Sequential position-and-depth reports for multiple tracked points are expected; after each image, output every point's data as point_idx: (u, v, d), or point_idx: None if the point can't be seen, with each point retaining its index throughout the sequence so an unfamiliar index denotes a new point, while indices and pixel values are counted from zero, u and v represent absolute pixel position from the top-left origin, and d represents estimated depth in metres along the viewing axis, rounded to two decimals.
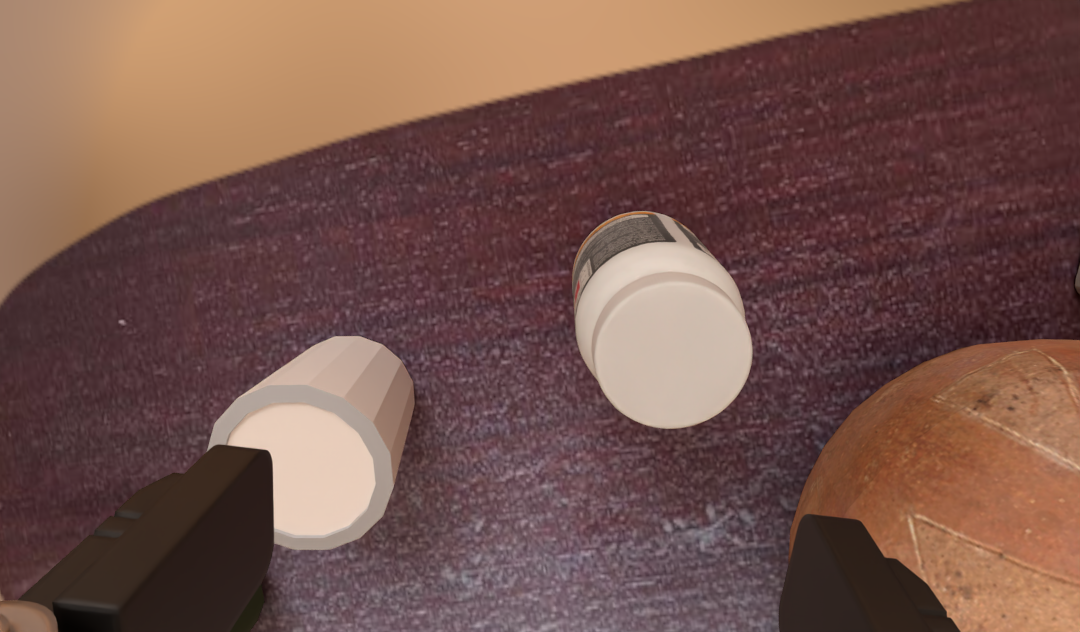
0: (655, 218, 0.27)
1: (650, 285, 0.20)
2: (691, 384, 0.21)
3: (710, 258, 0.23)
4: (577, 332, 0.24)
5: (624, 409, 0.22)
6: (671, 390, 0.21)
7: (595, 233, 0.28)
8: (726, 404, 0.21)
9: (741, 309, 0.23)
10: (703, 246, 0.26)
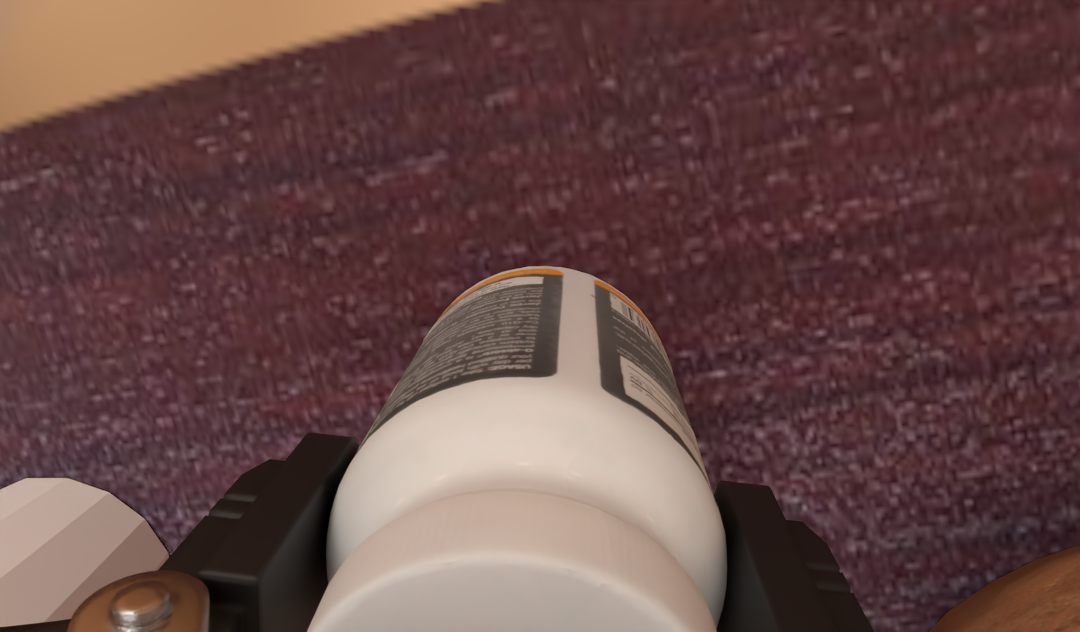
0: (553, 288, 0.14)
1: (421, 561, 0.07)
2: None
3: (636, 418, 0.09)
4: (329, 581, 0.10)
5: None
6: None
7: (447, 312, 0.15)
8: None
9: (715, 543, 0.09)
10: (640, 359, 0.12)
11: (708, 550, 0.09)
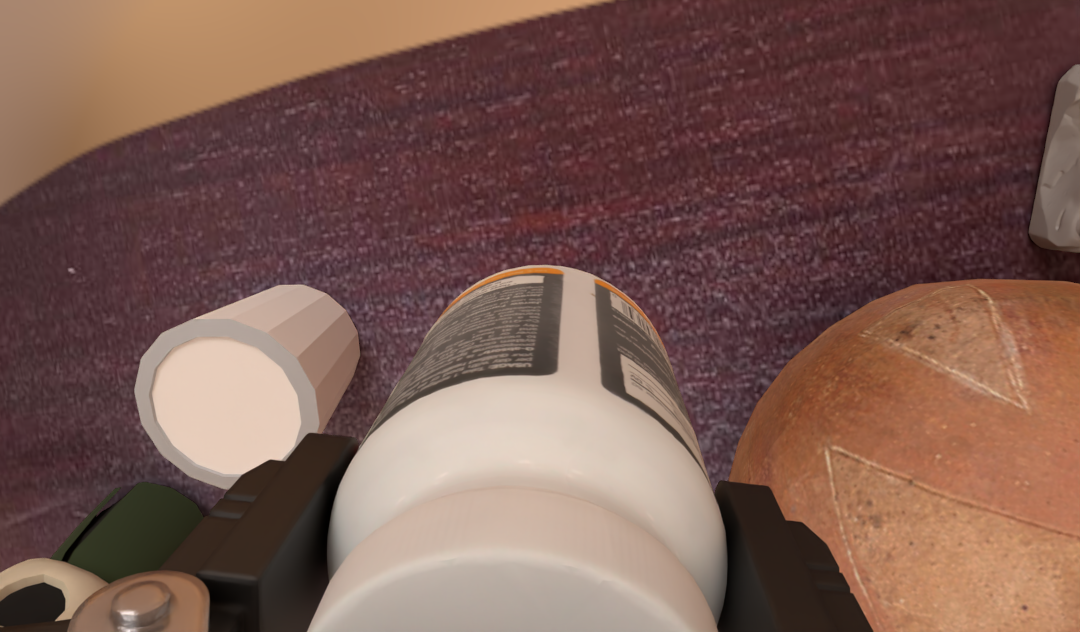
0: (553, 287, 0.14)
1: (421, 558, 0.07)
2: None
3: (637, 417, 0.09)
4: (330, 579, 0.10)
5: None
6: None
7: (447, 310, 0.15)
8: None
9: (716, 541, 0.09)
10: (640, 358, 0.12)
11: (708, 548, 0.09)
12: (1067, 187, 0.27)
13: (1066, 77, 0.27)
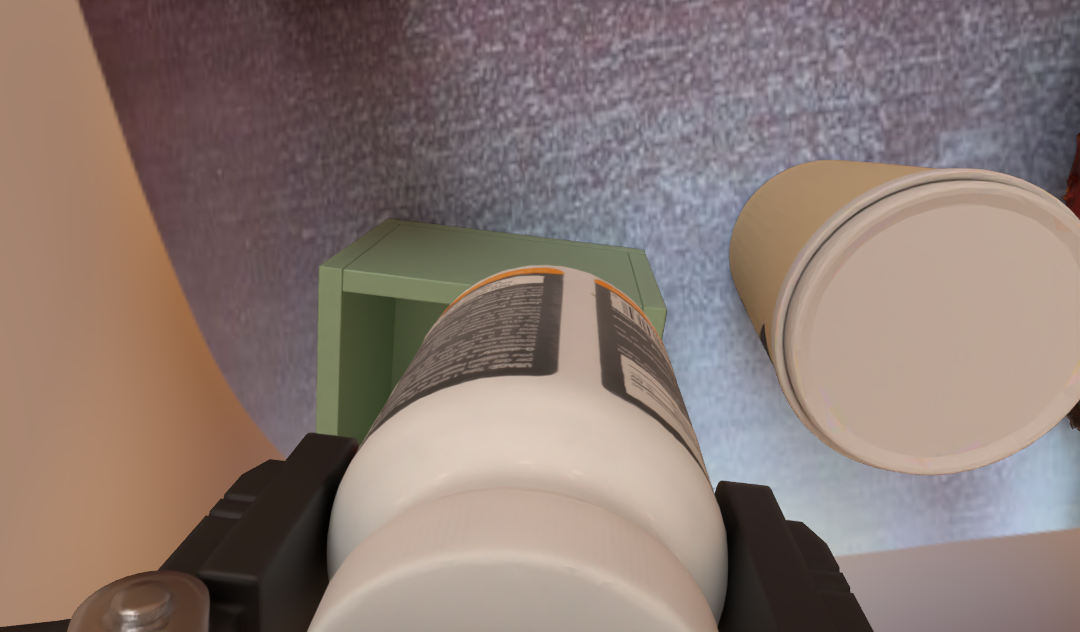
0: (554, 287, 0.14)
1: (421, 559, 0.07)
2: None
3: (637, 417, 0.09)
4: None
5: None
6: None
7: (447, 311, 0.15)
8: None
9: (716, 541, 0.09)
10: (641, 358, 0.12)
11: (709, 549, 0.09)
12: None
13: None
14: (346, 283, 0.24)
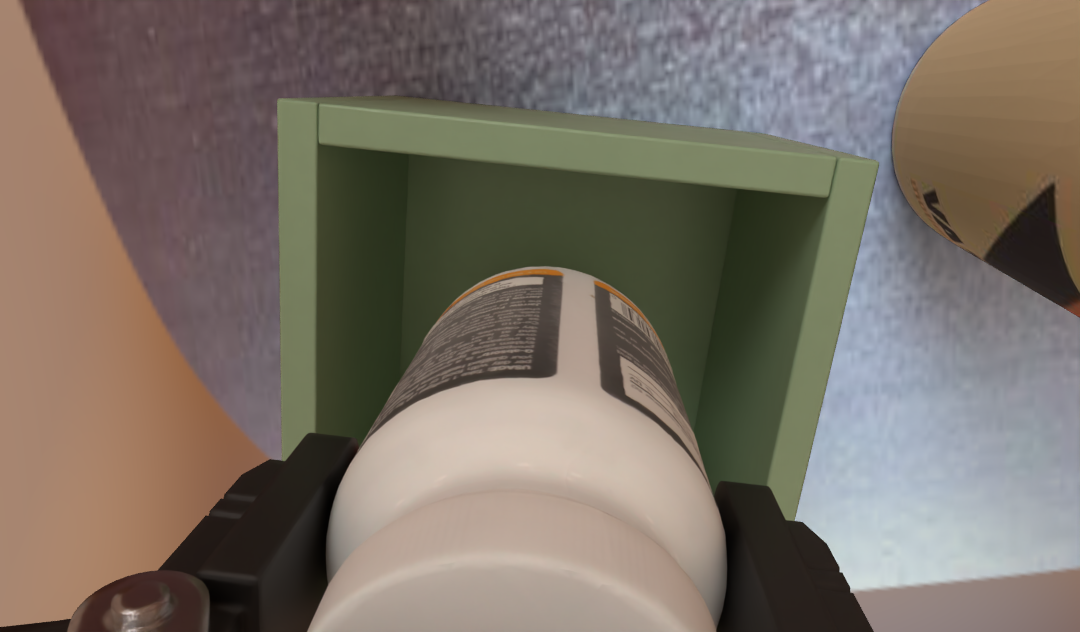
0: (553, 288, 0.14)
1: (420, 562, 0.07)
2: None
3: (636, 419, 0.09)
4: None
5: None
6: None
7: (447, 312, 0.15)
8: None
9: (715, 543, 0.09)
10: (640, 359, 0.12)
11: (708, 551, 0.09)
12: None
13: None
14: (324, 129, 0.14)
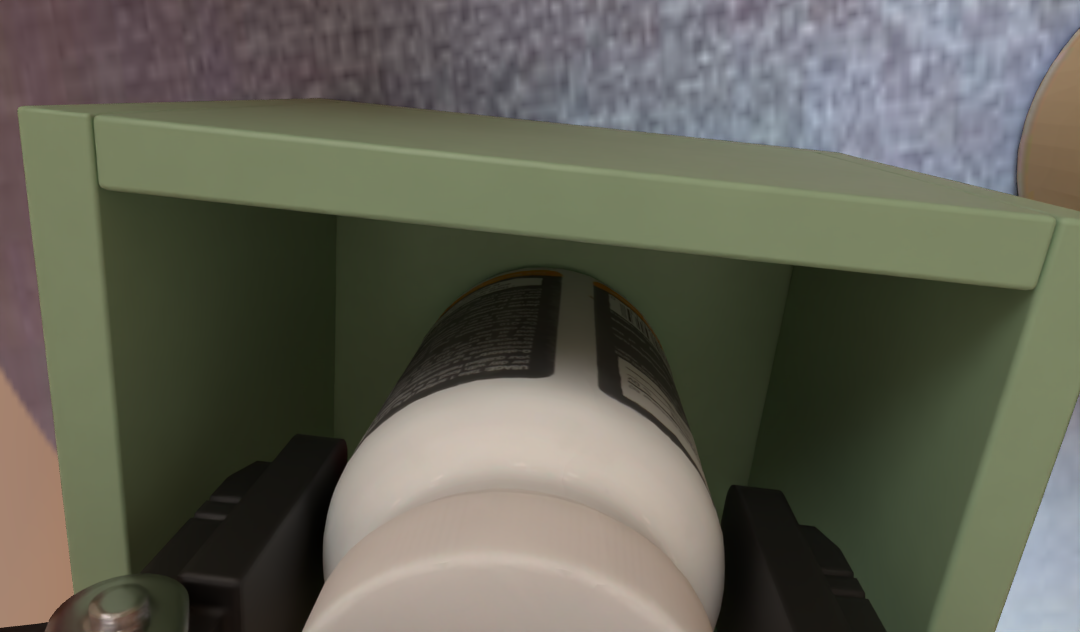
0: (552, 289, 0.14)
1: (414, 562, 0.07)
2: None
3: (634, 419, 0.09)
4: None
5: None
6: None
7: (445, 313, 0.15)
8: None
9: (713, 544, 0.09)
10: (638, 360, 0.12)
11: (705, 552, 0.09)
12: None
13: None
14: (106, 162, 0.08)
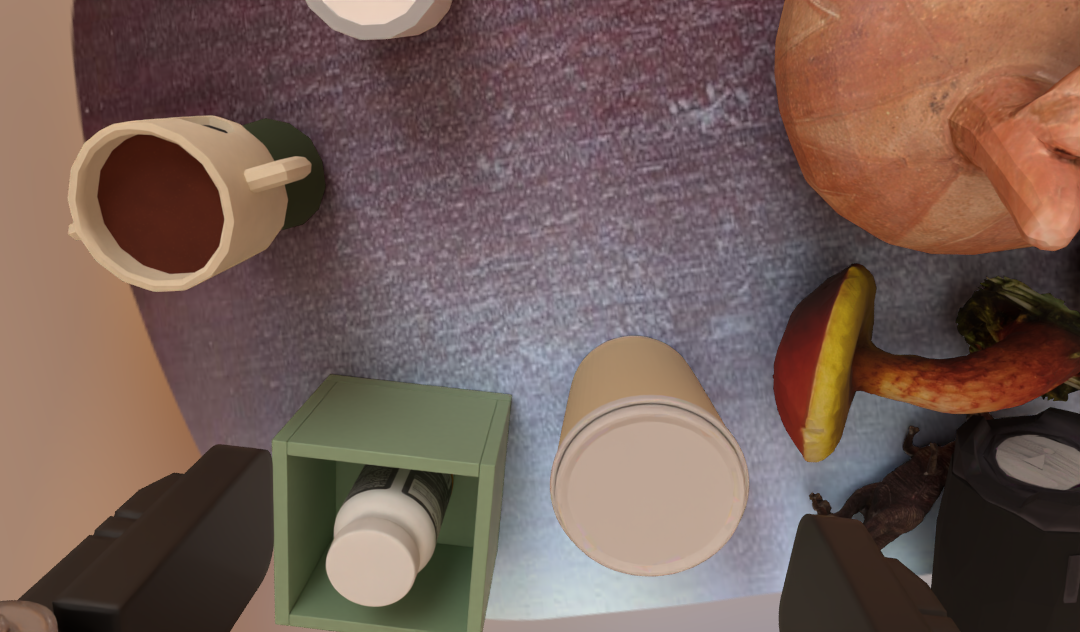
0: None
1: (352, 531, 0.36)
2: (382, 583, 0.37)
3: (408, 499, 0.39)
4: None
5: (346, 596, 0.37)
6: (371, 586, 0.37)
7: None
8: (404, 594, 0.37)
9: (427, 529, 0.39)
10: (422, 477, 0.41)
11: (425, 530, 0.39)
12: None
13: None
14: (289, 450, 0.37)
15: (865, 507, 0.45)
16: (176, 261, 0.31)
